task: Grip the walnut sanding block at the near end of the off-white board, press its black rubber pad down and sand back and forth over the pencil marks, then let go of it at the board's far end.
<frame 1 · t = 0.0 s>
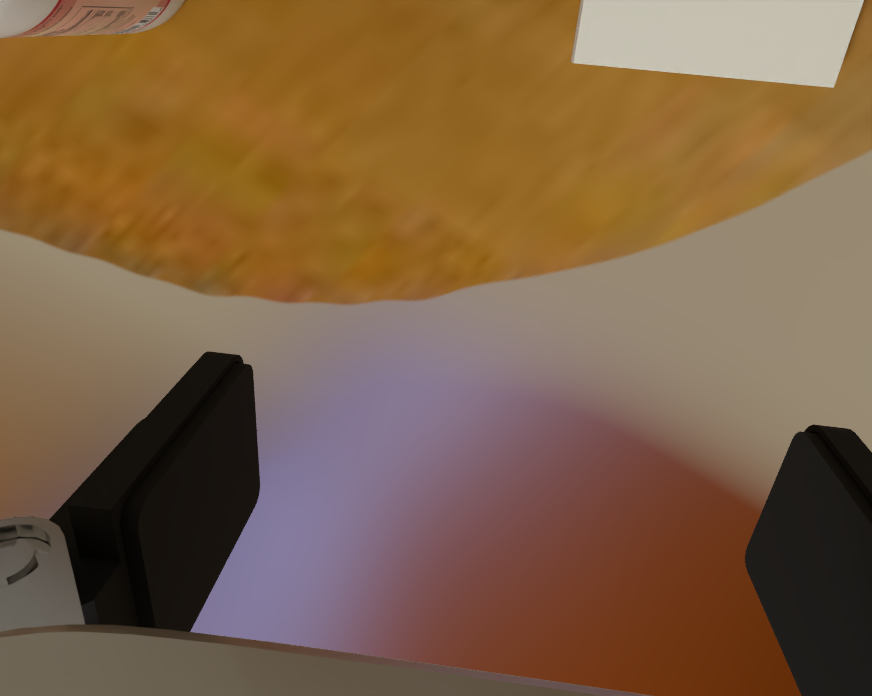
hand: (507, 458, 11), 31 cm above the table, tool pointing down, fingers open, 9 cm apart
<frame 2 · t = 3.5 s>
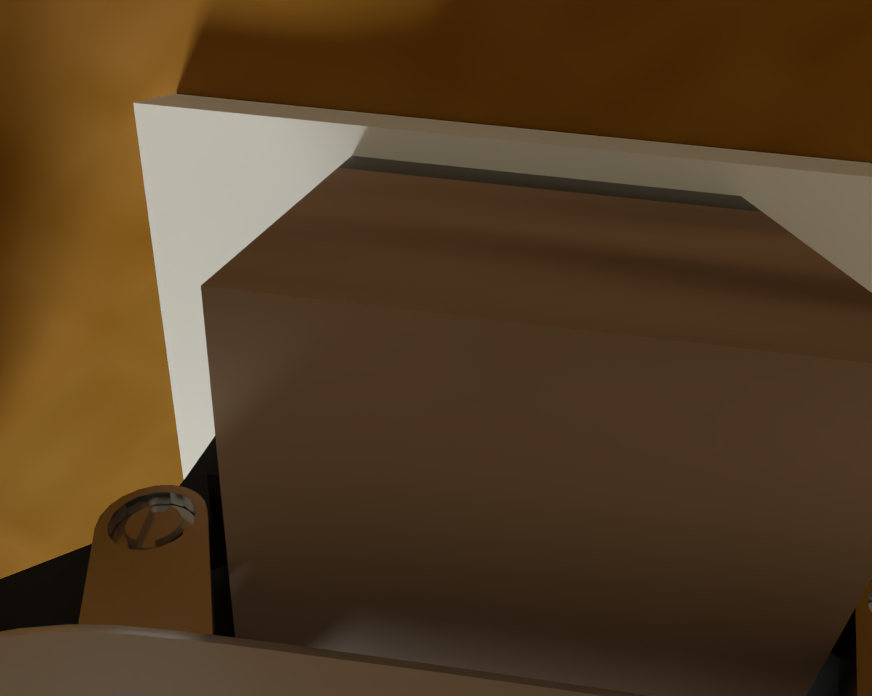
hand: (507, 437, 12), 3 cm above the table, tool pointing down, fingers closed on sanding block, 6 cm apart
board: (481, 534, 16), on the table
sanding block: (507, 402, 13), point 2 cm above the table, touching board, gripper
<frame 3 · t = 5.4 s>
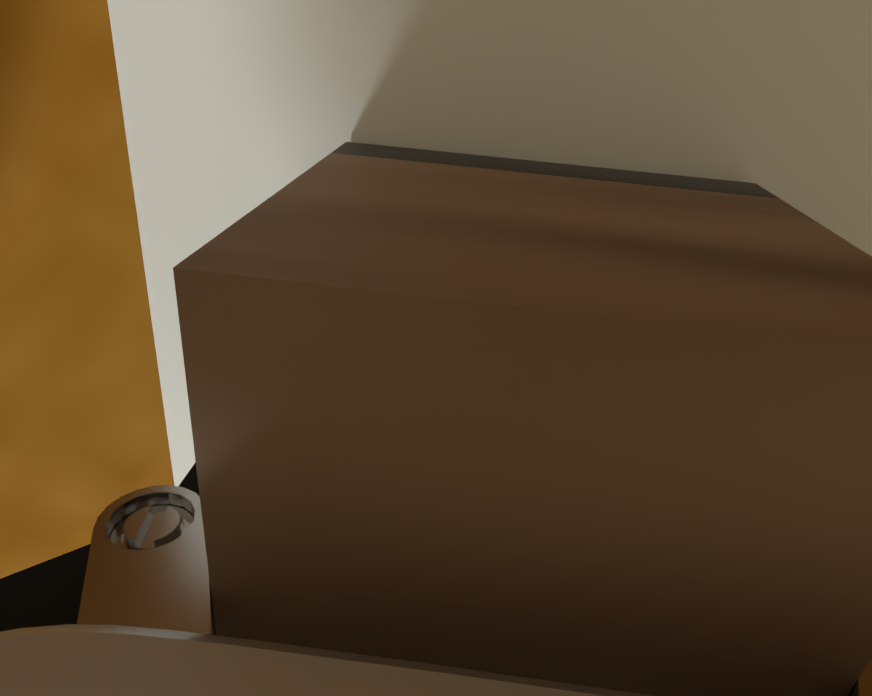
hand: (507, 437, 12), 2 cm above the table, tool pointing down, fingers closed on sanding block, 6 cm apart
board: (496, 431, 14), on the table
sanding block: (509, 401, 12), point 2 cm above the table, touching gripper
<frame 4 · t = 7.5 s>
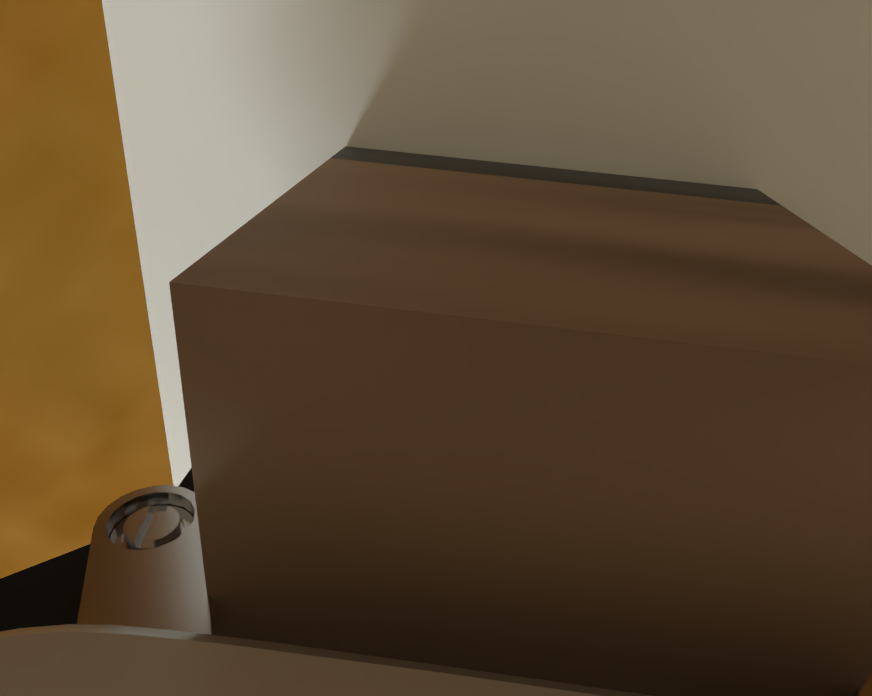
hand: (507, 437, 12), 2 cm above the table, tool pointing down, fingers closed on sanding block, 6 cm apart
board: (512, 352, 13), on the table
sanding block: (509, 406, 12), point 2 cm above the table, touching board, gripper
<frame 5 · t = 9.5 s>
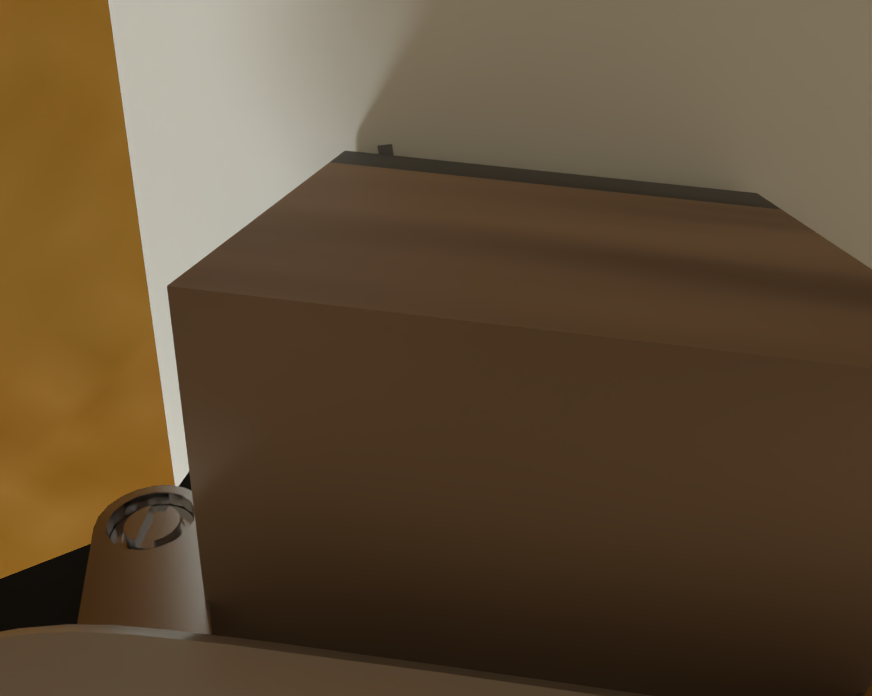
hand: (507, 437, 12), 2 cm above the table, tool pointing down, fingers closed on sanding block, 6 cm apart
board: (518, 294, 13), on the table
sanding block: (509, 410, 12), point 2 cm above the table, touching gripper
when the fingers open (3 cm above the table, at t = 11.3 s): sanding block stays where it is, resting on board.
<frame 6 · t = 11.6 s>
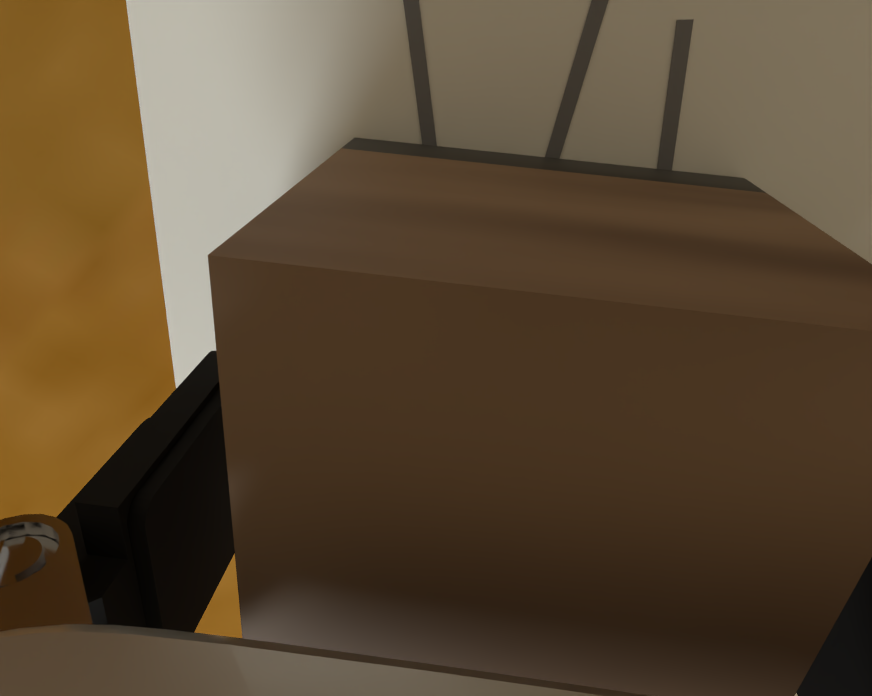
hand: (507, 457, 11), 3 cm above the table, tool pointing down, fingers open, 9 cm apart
board: (542, 130, 12), on the table
sanding block: (509, 386, 13), point 2 cm above the table, touching board
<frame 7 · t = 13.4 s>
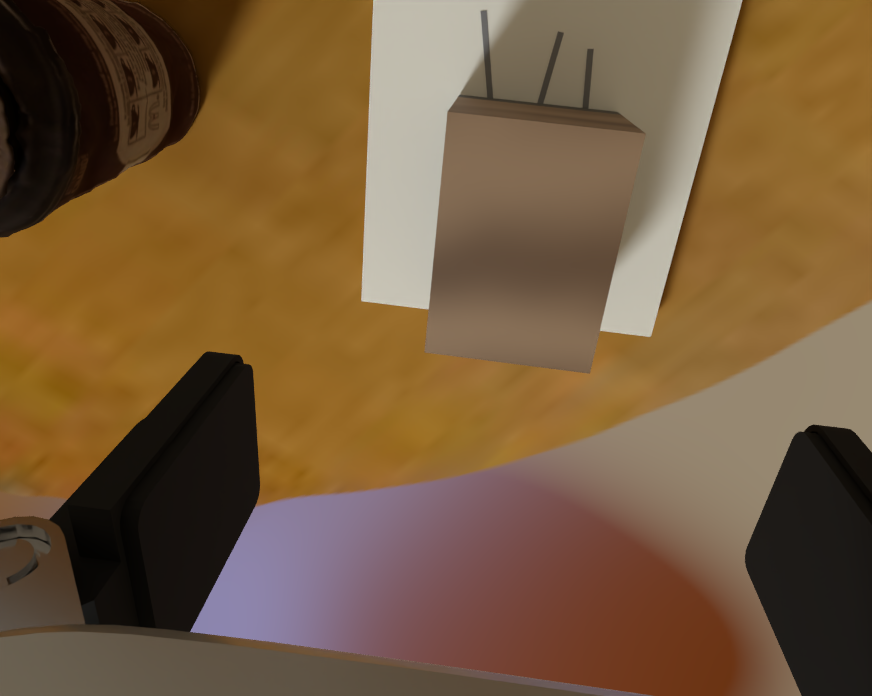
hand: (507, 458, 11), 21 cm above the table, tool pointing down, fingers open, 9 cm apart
board: (536, 94, 27), on the table
sanding block: (521, 210, 28), point 2 cm above the table, touching board
coffee cup: (138, 75, 29), on the table
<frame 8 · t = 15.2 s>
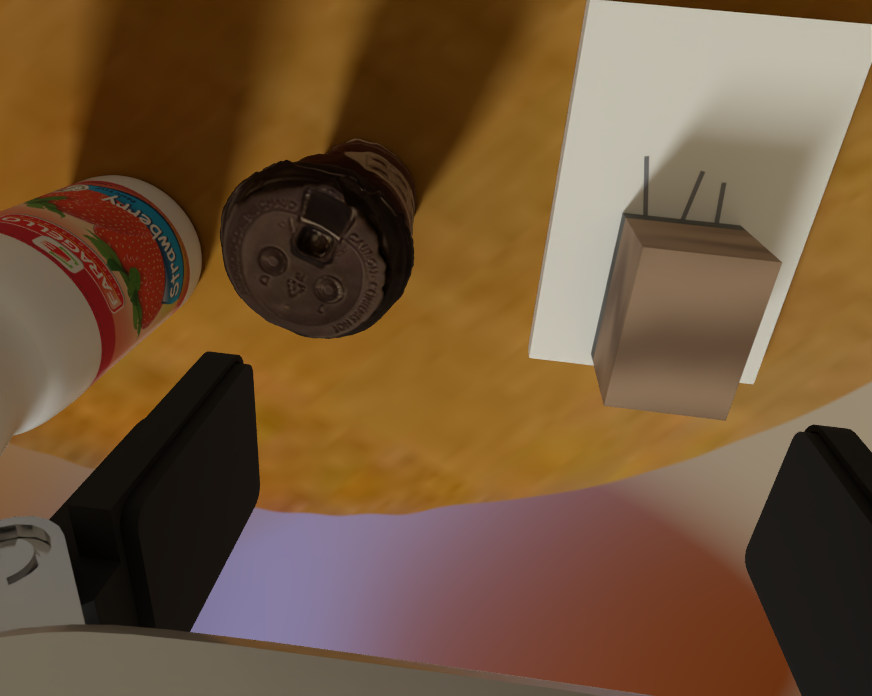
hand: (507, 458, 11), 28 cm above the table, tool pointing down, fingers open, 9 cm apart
board: (675, 208, 37), on the table
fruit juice: (137, 244, 41), on the table
sanding block: (661, 293, 37), point 2 cm above the table, touching board
coffee cup: (367, 191, 38), on the table
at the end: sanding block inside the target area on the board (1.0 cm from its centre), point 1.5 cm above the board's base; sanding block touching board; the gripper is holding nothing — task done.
